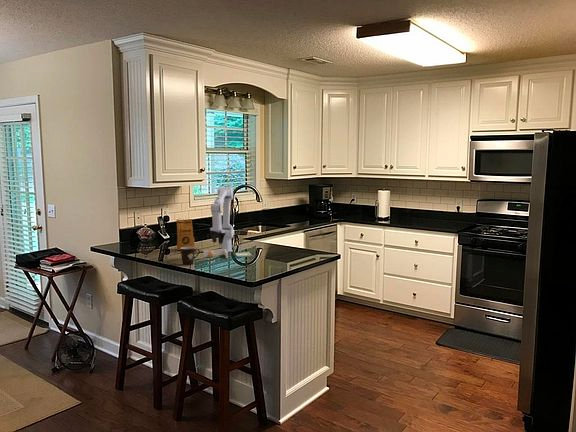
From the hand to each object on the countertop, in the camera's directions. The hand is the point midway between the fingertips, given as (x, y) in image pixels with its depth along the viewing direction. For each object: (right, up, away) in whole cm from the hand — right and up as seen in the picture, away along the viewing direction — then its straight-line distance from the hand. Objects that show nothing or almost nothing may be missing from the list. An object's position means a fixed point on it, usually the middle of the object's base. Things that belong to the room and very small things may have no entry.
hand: (217, 243), depth 302 cm
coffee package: (-27, -7, +30) cm, 41 cm away
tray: (+16, -9, +8) cm, 20 cm away
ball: (-5, -9, +3) cm, 11 cm away
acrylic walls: (-2, -9, +3) cm, 10 cm away
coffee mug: (-14, -12, -18) cm, 25 cm away
